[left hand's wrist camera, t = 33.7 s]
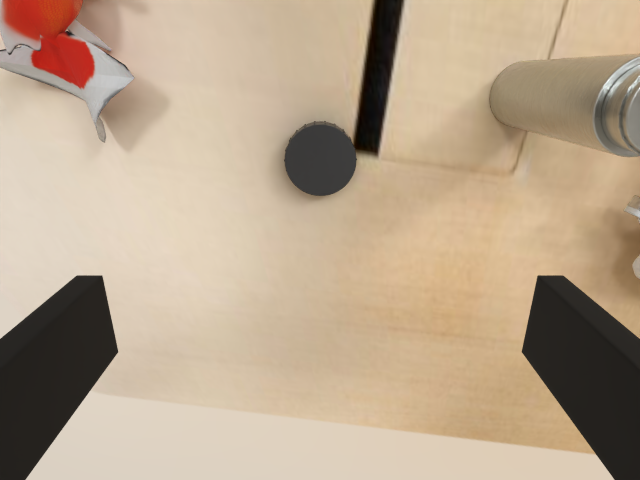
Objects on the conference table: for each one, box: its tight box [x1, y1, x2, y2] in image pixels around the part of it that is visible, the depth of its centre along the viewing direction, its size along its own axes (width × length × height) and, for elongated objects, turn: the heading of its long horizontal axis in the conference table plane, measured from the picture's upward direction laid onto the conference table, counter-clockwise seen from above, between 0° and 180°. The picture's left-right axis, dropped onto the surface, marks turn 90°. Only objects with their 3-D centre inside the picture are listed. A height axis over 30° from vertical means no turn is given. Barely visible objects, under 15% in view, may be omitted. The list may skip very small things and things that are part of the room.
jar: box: [490, 54, 640, 157], centre depth 29 cm, size 5×5×17 cm
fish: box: [0, 0, 134, 143], centre depth 32 cm, size 11×16×10 cm
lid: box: [284, 121, 357, 196], centre depth 38 cm, size 6×6×2 cm
